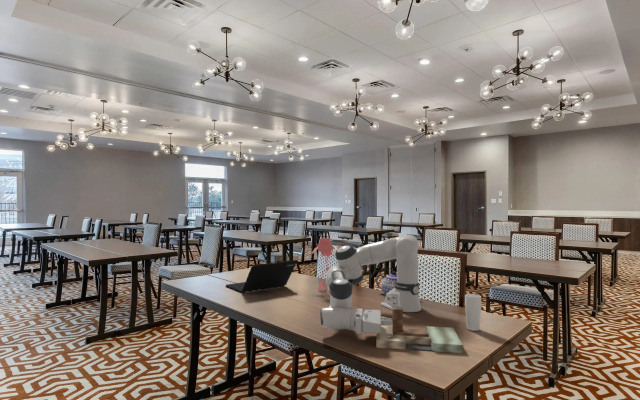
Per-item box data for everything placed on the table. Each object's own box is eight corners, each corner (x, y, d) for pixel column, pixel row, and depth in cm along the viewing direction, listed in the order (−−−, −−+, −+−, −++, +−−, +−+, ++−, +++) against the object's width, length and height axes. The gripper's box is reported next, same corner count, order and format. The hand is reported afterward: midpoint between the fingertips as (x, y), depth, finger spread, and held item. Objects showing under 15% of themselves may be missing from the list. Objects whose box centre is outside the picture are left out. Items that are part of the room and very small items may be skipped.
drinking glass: (467, 326, 171) (467, 293, 171) (483, 329, 167) (483, 295, 167) (462, 329, 166) (462, 295, 166) (478, 333, 161) (478, 298, 162)
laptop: (267, 281, 271) (268, 254, 271) (297, 290, 241) (297, 260, 242) (224, 287, 250) (224, 258, 250) (251, 298, 221) (251, 265, 221)
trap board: (376, 347, 144) (376, 339, 144) (376, 330, 164) (376, 323, 164) (463, 353, 139) (463, 345, 139) (452, 334, 159) (452, 327, 159)
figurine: (316, 287, 248) (316, 235, 247) (348, 293, 231) (348, 237, 231) (301, 292, 236) (300, 237, 235) (333, 299, 219) (333, 239, 219)
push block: (392, 334, 150) (392, 309, 150) (392, 329, 156) (392, 305, 156) (428, 337, 148) (428, 311, 148) (426, 331, 154) (427, 307, 154)
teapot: (370, 294, 230) (370, 270, 231) (383, 290, 242) (383, 267, 242) (406, 301, 214) (406, 275, 214) (418, 296, 225) (418, 272, 225)
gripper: (359, 319, 165) (391, 321, 163) (356, 335, 145) (393, 338, 142) (359, 305, 165) (391, 307, 163) (357, 319, 145) (393, 321, 142)
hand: (392, 321), depth 152 cm, fingers closed, pressing on push block
